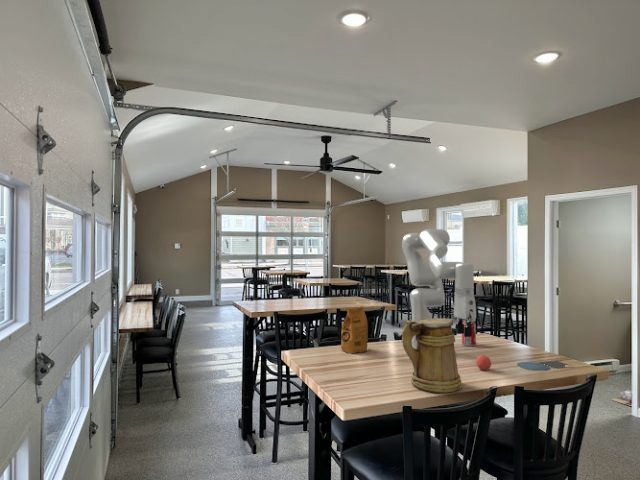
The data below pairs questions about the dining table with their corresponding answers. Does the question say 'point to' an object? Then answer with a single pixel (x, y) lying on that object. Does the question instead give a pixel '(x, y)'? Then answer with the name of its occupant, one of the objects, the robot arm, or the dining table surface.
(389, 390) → the dining table surface
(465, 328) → the robot arm
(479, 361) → the ball
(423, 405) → the dining table surface
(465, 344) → the soda can
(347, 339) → the coffee package
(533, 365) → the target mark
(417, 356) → the tankard
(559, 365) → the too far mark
